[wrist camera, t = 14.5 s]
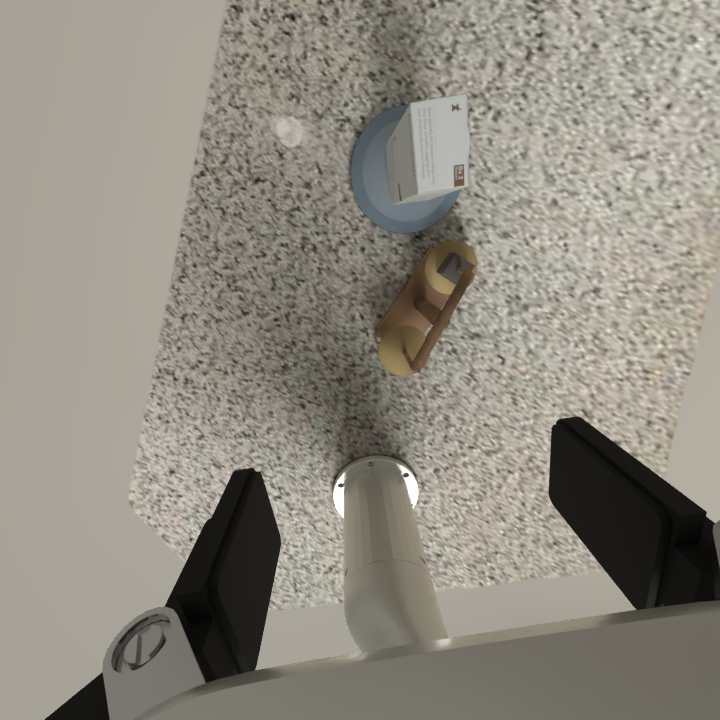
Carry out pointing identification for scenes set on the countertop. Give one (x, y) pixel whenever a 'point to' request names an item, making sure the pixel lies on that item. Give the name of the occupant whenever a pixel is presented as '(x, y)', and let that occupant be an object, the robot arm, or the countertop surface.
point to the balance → (425, 307)
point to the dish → (374, 184)
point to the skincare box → (429, 150)
